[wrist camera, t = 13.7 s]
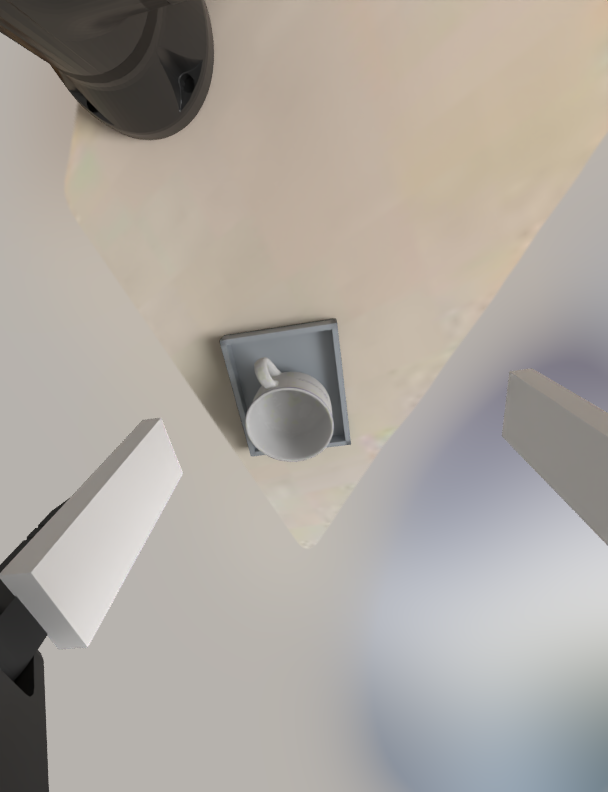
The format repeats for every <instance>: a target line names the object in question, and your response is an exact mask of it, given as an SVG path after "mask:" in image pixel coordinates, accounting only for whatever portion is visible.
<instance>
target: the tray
mask: <svg viewBox="0 0 608 792" xmlns="http://www.w3.org/2000/svg"><path fill="white" fill-rule="evenodd" d="M220 345H221V348H222V352H223V356H224V359H225V363H226V367H227V370H228V374H229V378H230V381H231V385H232V389H233V392H234V396H235V400H236V403H237V407H238V410H239V414H240V418H241V421H242V425H243V429H244V432H245V436H246V440H247V443H248V447H249V451H250V454H251V456H259V455H265V454H264V453H262V452H261V451H259V450H258V449H257V448H256V447H255V446H254V445H253V444H252V442H251V441H250V439H249V437H248V434H247V431H246V426H245V418H246V413H247V411H248V408H249V406H250V405H251V403H252V402H253V399H254V397H255V395H256V393H257V392H258V390H259V389H260V387H261V386H262V385H261V384H260V382H259V380H258V379H257V377H256V374H255V369H254V364H255V362H256V361H257V360H258V359H260V358H264V357H266V358H268V359H270V360H271V362H272V363H273V364H274V365H275V366H276V368H277V369H278V370H280V372H281V373H283V372H290V371H293V372H301V373H305V374H307V375H310V376H312V377H313V378H315V379H316V380H318V381H319V382H320V383H321V384H322V385H323V387H324V388H325V389H326V391H327V393H328V395H329V398H330V401H331V406H332V417H333V422H334V430H333V435H332V438H331V440H330V442H329V444H328V445H327V447H334V446H343V445H351V441H350V432H349V423H348V414H347V405H346V397H345V388H344V379H343V370H342V361H341V353H340V344H339V335H338V326H337V321H336V319H329V320H322V321H316V322H309V323H303V324H296V325H290V326H283V327H276V328H270V329H263V330H257V331H250V332H243V333H237V334H230V335H224V336H223V337H222V338H221V339H220Z"/></svg>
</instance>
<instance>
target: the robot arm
mask: <svg viewBox="0 0 608 792" xmlns="http://www.w3.org/2000/svg"><path fill="white" fill-rule="evenodd" d="M0 32H1V33H3V34H4V35H6V36H7V37H9V38H10V39H12V40H14V41H15V42H17V43H18V44H20V45H21V46H23V47H24V48H26V49H27V50H29V51H31V52H32V53H34V54H35V55H37V56H38V57H40V58H41V59H43V60H44V61H46V62H48V63H49V64H50V65H51V66H52V68H53V69H54V71H55V72H56V73H57V75H58V76H59V78H60V79H61V80H62V82H63V83H64V85H65V86H66V87H67V89H68V90H69V91H70V92H71V94H72V95H73V96H74V97H75V99H76V100H77V101H78V102H79V103H80V104H81V105H82V106H83V107H84V108H85V109H86V110H87V111H88V112H90V113H91V114H92V115H93V116H94V117H96V118H97V119H98V120H100V121H101V122H103V123H105V124H106V125H108V126H110V127H112V128H113V129H115V130H117V131H119V132H121V133H123V134H125V135H128V136H131V137H134V138H138V139H145V140H155V139H162V138H166V137H169V136H171V135H173V134H175V133H177V132H179V131H180V130H182V129H183V128H185V127H186V126H187V125H188V124H189V123H190V122H191V121H192V120H193V119H194V117H195V116H196V115H197V113H198V112H199V110H200V108H201V107H202V105H203V103H204V101H205V98H206V96H207V93H208V90H209V87H210V83H211V78H212V72H213V63H214V45H213V34H212V28H211V22H210V18H209V14H208V10H207V7H206V4H205V1H204V0H0ZM502 437H503V438H504V439H505V440H506V441H507V442H508V443H509V444H510V445H511V446H512V447H513V448H514V449H515V450H516V451H517V452H518V453H519V454H520V455H521V456H522V457H523V458H524V460H525V461H526V462H527V463H528V464H529V465H530V466H531V467H532V468H533V469H534V470H535V471H536V472H537V473H538V474H539V475H540V476H541V477H542V478H543V479H544V480H545V481H546V482H547V483H548V484H549V485H550V486H551V487H552V488H553V489H554V491H555V492H556V493H557V494H558V495H559V496H560V497H561V498H562V499H563V500H564V501H565V502H566V503H567V504H568V505H569V506H570V507H571V508H572V509H573V510H574V511H575V512H576V513H577V514H578V515H579V516H580V517H581V518H582V519H583V520H584V522H586V524H587V525H588V526H589V527H590V528H591V529H592V530H593V531H594V532H595V533H596V534H597V535H598V536H599V537H600V538H601V539H602V540H603V541H604V542H605V543H606V544H607V545H608V413H607V412H605V411H604V410H602V409H600V408H598V407H597V406H595V405H593V404H592V403H590V402H588V401H586V400H585V399H583V398H581V397H580V396H578V395H576V394H575V393H573V392H571V391H569V390H568V389H566V388H564V387H562V386H561V385H559V384H557V383H556V382H554V381H552V380H551V379H549V378H547V377H545V376H544V375H542V374H540V373H539V372H537V371H535V370H534V369H524V370H517V371H510V372H509V380H508V389H507V397H506V405H505V414H504V423H503V432H502ZM182 474H183V472H182V469H181V467H180V464H179V462H178V459H177V457H176V454H175V452H174V449H173V446H172V444H171V441H170V439H169V436H168V434H167V431H166V429H165V426H164V423H163V421H162V418H155V419H147V420H142V421H141V422H140V423H139V425H138V426H137V427H136V428H135V429H134V430H133V431H132V432H131V433H130V434H129V435H128V436H127V438H126V439H125V440H124V441H123V442H122V443H121V444H120V445H119V446H118V447H117V448H116V449H115V450H114V451H113V452H112V454H111V455H110V456H109V457H108V458H107V459H106V460H105V461H104V462H103V463H102V464H101V465H100V466H99V468H98V469H97V470H96V471H95V472H94V473H93V474H92V475H91V476H90V477H89V478H88V479H87V480H86V481H85V482H84V484H83V485H82V486H81V487H80V488H79V489H78V490H77V491H76V492H75V493H74V494H73V495H72V497H71V498H69V499H68V500H66V501H65V502H63V503H62V504H61V505H59V506H58V507H57V508H55V509H54V510H52V511H51V512H50V513H49V515H47V517H46V518H45V519H44V520H43V521H42V522H41V523H40V524H39V525H38V528H35V529H34V530H33V531H32V532H31V533H30V534H29V535H28V536H27V540H24V541H23V542H22V543H21V544H20V545H19V546H18V547H17V548H16V549H15V550H14V551H13V552H12V553H11V554H10V555H9V556H8V557H7V558H6V559H5V561H4V562H3V563H2V564H1V565H0V792H49V784H48V759H47V737H46V713H45V712H46V710H45V686H44V665H43V664H44V661H43V658H42V655H41V653H40V652H39V651H38V648H39V647H40V645H41V644H42V642H43V641H44V639H45V638H46V636H48V637H49V638H50V639H51V641H52V642H53V643H54V644H55V645H56V647H57V648H58V649H71V648H72V649H73V648H86V647H88V646H89V644H90V642H91V641H92V639H93V637H94V635H95V633H96V631H97V629H98V628H99V626H100V624H101V622H102V620H103V619H104V617H105V615H106V613H107V611H108V610H109V608H110V606H111V604H112V602H113V600H114V599H115V597H116V595H117V593H118V591H119V589H120V588H121V586H122V584H123V582H124V580H125V578H126V577H127V575H128V573H129V571H130V569H131V568H132V566H133V564H134V562H135V560H136V558H137V557H138V555H139V553H140V551H141V549H142V547H143V546H144V544H145V542H146V540H147V538H148V536H149V535H150V533H151V531H152V529H153V527H154V525H155V524H156V522H157V520H158V518H159V516H160V515H161V513H162V511H163V509H164V507H165V505H166V504H167V502H168V500H169V498H170V496H171V494H172V493H173V491H174V489H175V487H176V485H177V484H178V481H179V480H180V478H181V476H182Z"/></svg>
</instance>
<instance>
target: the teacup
mask: <svg viewBox="0 0 608 792" xmlns="http://www.w3.org/2000/svg"><path fill="white" fill-rule="evenodd" d="M254 369H255V374H256V377H257V379H258V380H259V382H260V384H261V385H262V386H261V387H260V389H259V390H258V392H257V393H256V395H255V397H254V399H253V402H252V403H251V405H250V406H249V408H248V411H247V413H246V418H245V426H246V431H247V434H248V437H249V439H250V441H251V442H252V444H253V445H254V446H255V447H256V448H257V449H258V450H259V451H261V452H262V453H264V454H265V455H267V456H269V457H271V458H273V459H276V460H280V461H287V462H297V461H304V460H307V459H310V458H312V457H314V456H316V455H318V454H319V453H321V452H322V451H323V450H324V449H325V448H326V447H327V445H328V444H329V442H330V440H331V438H332V435H333V430H334V422H333V417H332V406H331V401H330V398H329V395H328V393H327V391H326V389H325V388H324V387H323V385H322V384H321V383H320V382H319V381H318V380H316V379H315V378H313V377H312V376H310V375H307V374H305V373H301V372H293V371H290V372H283V373H281V372H280V370H278V369H277V368H276V366H275V365H274V364H273V363H272V362H271V360H270V359H268V358H266V357H264V358H260V359H258V360H257V361H256V362H255V364H254Z"/></svg>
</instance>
